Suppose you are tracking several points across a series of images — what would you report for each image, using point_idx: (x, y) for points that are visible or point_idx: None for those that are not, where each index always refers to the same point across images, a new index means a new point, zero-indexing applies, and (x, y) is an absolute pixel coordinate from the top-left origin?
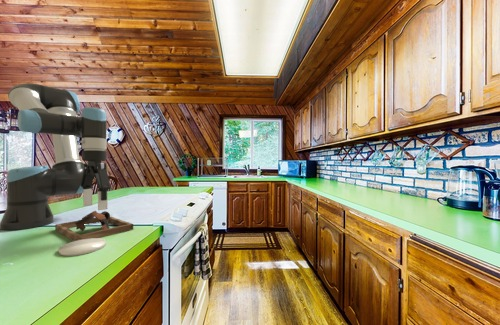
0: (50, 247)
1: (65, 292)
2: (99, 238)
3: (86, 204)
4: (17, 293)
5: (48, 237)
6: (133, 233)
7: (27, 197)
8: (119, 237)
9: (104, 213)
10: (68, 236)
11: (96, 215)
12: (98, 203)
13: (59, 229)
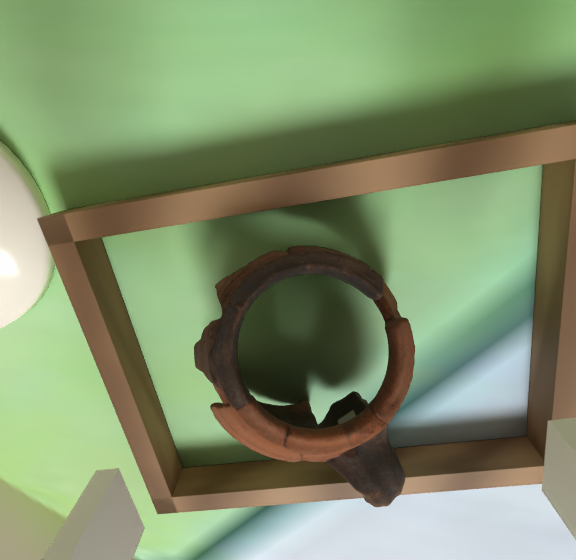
0: (60, 60)
1: None
2: (9, 319)
3: (559, 458)
4: None
5: (355, 58)
6: (88, 462)
7: None
8: (51, 399)
9: (349, 478)
10: (224, 182)
11: (236, 419)
12: (59, 546)
13: (461, 142)
